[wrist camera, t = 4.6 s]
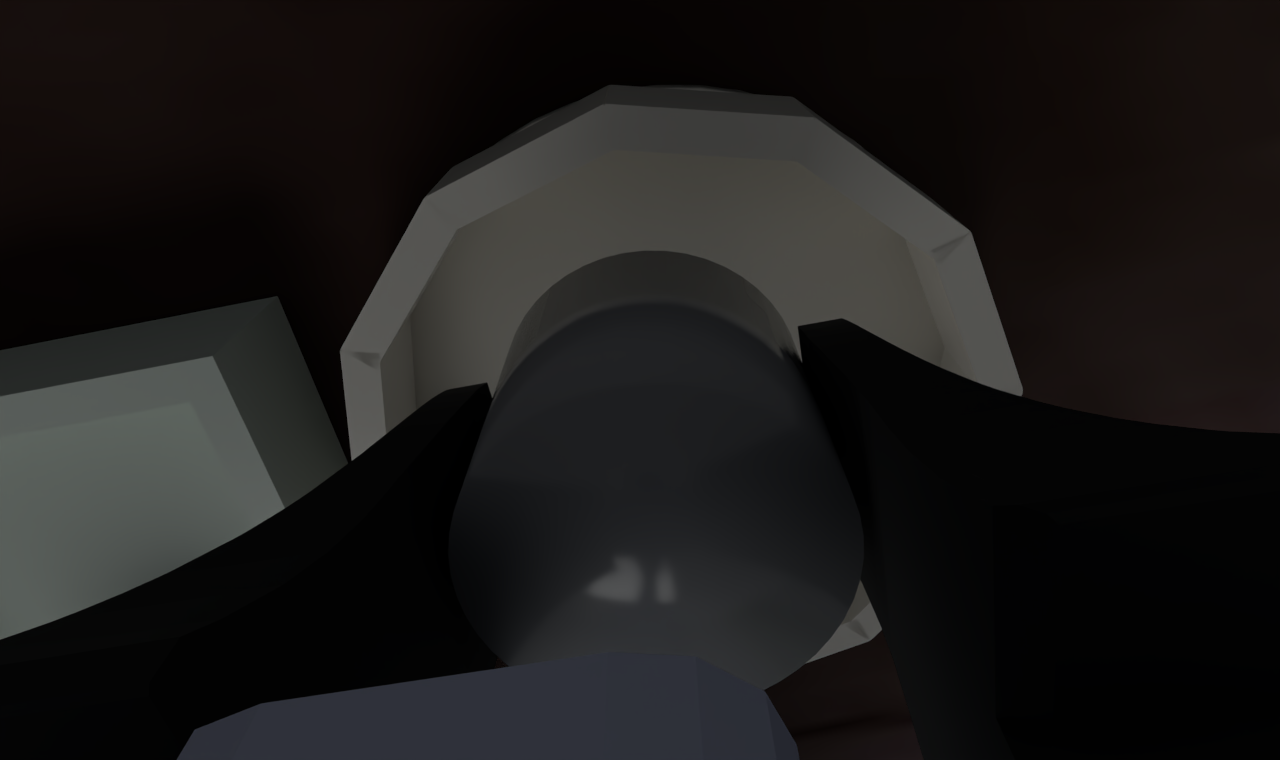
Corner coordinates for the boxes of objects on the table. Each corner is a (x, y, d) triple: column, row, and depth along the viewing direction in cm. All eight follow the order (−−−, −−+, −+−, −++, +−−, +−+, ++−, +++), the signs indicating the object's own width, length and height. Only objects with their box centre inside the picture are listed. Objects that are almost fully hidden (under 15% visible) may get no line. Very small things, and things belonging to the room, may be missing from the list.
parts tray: (473, 762, 24) (452, 862, 22) (103, 813, 25) (38, 914, 23) (277, 295, 18) (212, 355, 15) (-208, 391, 19) (-349, 463, 16)
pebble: (862, 358, 12) (952, 522, 9) (686, 556, 14) (701, 763, 10) (609, 188, 11) (593, 297, 8) (451, 426, 13) (376, 607, 9)
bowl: (1079, 305, 18) (1157, 367, 15) (731, 665, 22) (743, 761, 20) (581, -60, 15) (568, -64, 12) (299, 444, 19) (244, 522, 17)
